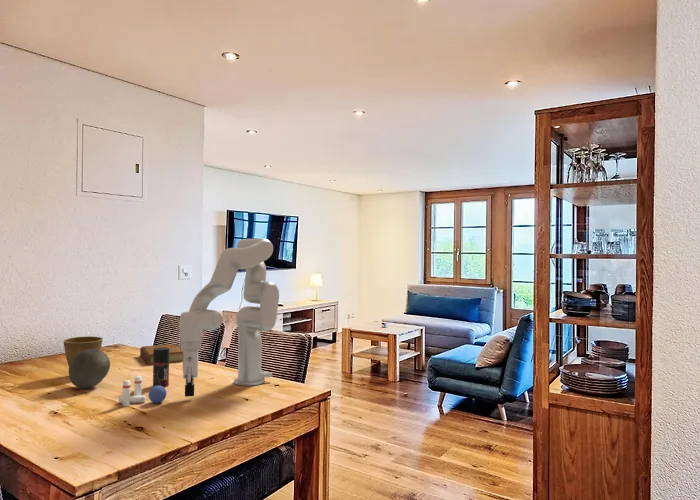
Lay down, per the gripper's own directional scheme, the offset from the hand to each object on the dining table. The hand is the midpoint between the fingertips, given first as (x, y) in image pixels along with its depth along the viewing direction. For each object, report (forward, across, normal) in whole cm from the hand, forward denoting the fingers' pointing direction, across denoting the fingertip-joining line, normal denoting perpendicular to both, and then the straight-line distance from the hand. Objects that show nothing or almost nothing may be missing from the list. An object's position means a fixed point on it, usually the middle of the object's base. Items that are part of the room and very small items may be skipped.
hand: (189, 395), depth 178 cm
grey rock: (+2, +26, +39) cm, 47 cm away
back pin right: (+2, +4, +18) cm, 18 cm away
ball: (-2, -1, +11) cm, 11 cm away
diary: (+2, +76, +16) cm, 78 cm away
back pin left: (+2, -2, +21) cm, 21 cm away
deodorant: (+2, +22, +12) cm, 25 cm away
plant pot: (+2, +46, +46) cm, 65 cm away
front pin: (0, 0, +15) cm, 15 cm away
